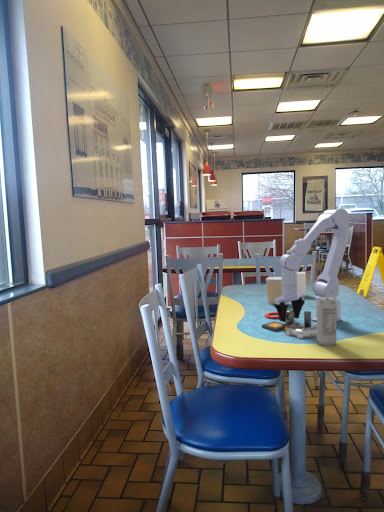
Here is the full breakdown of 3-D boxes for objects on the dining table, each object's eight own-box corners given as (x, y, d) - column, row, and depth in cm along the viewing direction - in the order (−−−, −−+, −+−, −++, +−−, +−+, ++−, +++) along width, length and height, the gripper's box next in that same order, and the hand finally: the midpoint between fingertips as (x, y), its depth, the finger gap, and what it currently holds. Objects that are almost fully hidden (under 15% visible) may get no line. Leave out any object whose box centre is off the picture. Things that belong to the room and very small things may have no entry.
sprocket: (328, 329, 135) (328, 312, 134) (321, 341, 123) (321, 322, 123) (290, 325, 142) (290, 308, 141) (280, 335, 130) (280, 317, 129)
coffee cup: (284, 300, 185) (283, 276, 184) (287, 304, 176) (286, 279, 175) (265, 300, 186) (264, 276, 185) (267, 304, 177) (266, 279, 176)
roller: (289, 322, 147) (289, 309, 146) (296, 323, 144) (296, 311, 143) (283, 323, 145) (282, 311, 144) (290, 325, 142) (290, 313, 141)
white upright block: (304, 293, 199) (304, 271, 198) (307, 297, 190) (307, 274, 189) (287, 293, 200) (286, 271, 199) (289, 297, 191) (288, 274, 190)
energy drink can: (331, 340, 124) (332, 296, 122) (339, 346, 118) (339, 300, 116) (314, 340, 124) (313, 296, 122) (320, 347, 118) (320, 300, 116)
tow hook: (264, 320, 152) (287, 319, 150) (262, 289, 151) (285, 288, 149) (265, 314, 161) (286, 314, 159) (263, 285, 160) (285, 284, 157)
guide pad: (274, 323, 145) (274, 321, 144) (288, 327, 139) (288, 325, 139) (261, 327, 141) (261, 324, 141) (275, 331, 135) (275, 328, 135)
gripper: (284, 289, 135) (284, 325, 137) (310, 284, 143) (310, 318, 145) (270, 286, 141) (270, 321, 143) (295, 282, 149) (295, 314, 151)
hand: (289, 319), depth 144 cm, fingers open, 7 cm apart
